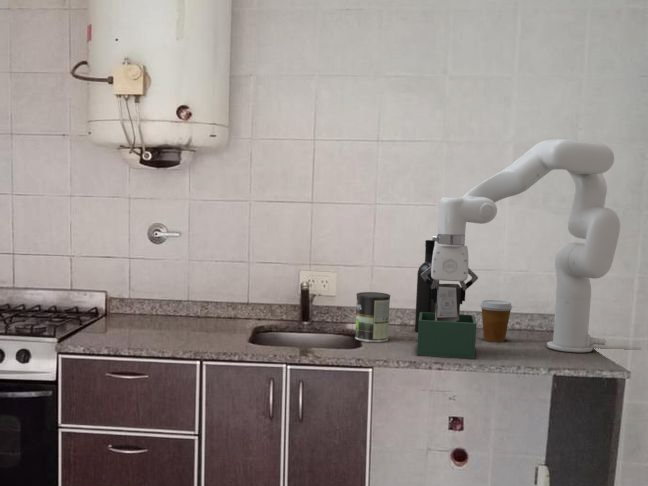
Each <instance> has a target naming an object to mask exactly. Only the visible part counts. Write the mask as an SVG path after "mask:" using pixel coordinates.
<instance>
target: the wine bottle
mask: <svg viewBox="0 0 648 486" xmlns="http://www.w3.org/2000/svg"><path fill="white" fill-rule="evenodd" d="M424 243H425V244H424V246H425V250H424V262H423V263H421V265H420V266H419V267H418V270H417V276H416V295H415V297H416V300H415V319H414V331H415V332H417V333H418V324H419V315H420V312H428V313H435V310H436V302H435V303H434V300H433V299H431V294H432V288H431V287H430V286H429V285H428V284H427V283H426V282H425V280H424V279H423V278H422V277H421V274H422V273H423V272H424V271H426V270H427V269H428V268H429V267H431V266H432V256H433V250H434V246H435V245H436V241H432V239H426V240H425V242H424ZM427 277H428V278H429V279H430V280H431V281H432V282H433V281H434V279H433V278H432V277H431V272H430V273H429V274H428V275H427ZM437 284H440V280H439V281H438V283H437ZM436 288H437V285H436Z"/></svg>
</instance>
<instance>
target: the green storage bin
mask: <svg viewBox="0 0 648 486" xmlns="http://www.w3.org/2000/svg"><path fill="white" fill-rule="evenodd" d="M476 339H477V320H476V316H475V315H474V314H462V313H460V314H459V322H447V321H435V313H428V312H420V315H419V324H418V332H417V345H416V347H417V349H416V355H417V356H422V357H423V356H425V357H439V358H455V359H468V360H469V359H470V360H475V359H476V341H477V340H476Z"/></svg>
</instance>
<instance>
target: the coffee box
mask: <svg viewBox="0 0 648 486" xmlns="http://www.w3.org/2000/svg"><path fill="white" fill-rule="evenodd" d="M436 289H437V295H436V310H435V321H447V322H459V314H461V312H460V311H461V304H460V297H461V285H460V283H459V284H458V283H439V284H437V288H436Z"/></svg>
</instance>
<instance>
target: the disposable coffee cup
mask: <svg viewBox="0 0 648 486" xmlns="http://www.w3.org/2000/svg"><path fill="white" fill-rule="evenodd" d="M479 306H480V309H481V319H482V334H483V340H484V341H488V342H492V343H494V342H495V343H503V342H505V341H506V336H507V332H508V325H509V320H510V315H511V311H512V309H513V306H512V302H510V301H507V300H497V299H485V300H482V301H481V304H479Z"/></svg>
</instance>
